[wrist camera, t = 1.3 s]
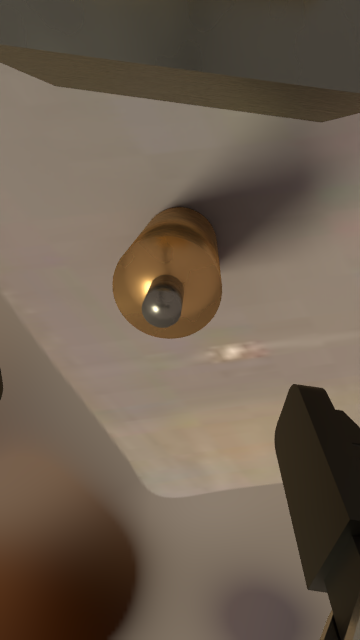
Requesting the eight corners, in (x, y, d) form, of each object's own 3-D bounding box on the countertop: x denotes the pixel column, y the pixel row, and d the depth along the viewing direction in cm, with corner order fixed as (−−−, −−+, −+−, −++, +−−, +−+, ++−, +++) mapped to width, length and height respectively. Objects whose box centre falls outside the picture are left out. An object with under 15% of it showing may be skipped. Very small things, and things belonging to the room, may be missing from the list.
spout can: (145, 202, 21) (100, 239, 12) (223, 212, 21) (235, 258, 12) (140, 275, 23) (99, 353, 14) (210, 285, 23) (212, 369, 14)
